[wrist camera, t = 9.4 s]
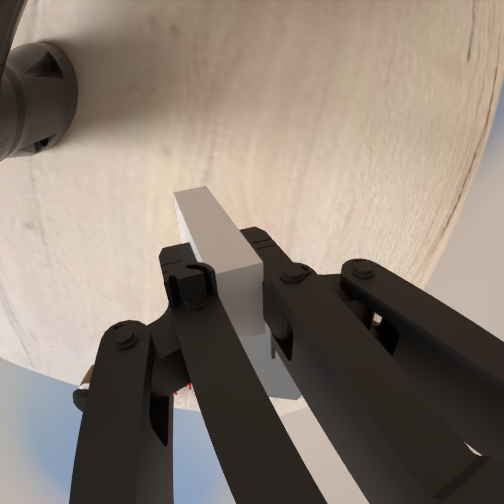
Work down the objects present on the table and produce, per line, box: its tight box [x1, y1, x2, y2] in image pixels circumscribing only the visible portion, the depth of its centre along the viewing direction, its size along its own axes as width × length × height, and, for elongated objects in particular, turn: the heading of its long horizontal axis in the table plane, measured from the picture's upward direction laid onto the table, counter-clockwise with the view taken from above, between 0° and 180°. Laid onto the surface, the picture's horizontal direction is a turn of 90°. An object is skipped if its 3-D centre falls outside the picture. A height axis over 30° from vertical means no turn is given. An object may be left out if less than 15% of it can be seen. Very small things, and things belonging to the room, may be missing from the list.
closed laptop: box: [240, 322, 302, 400], centre depth 57 cm, size 20×24×1 cm
